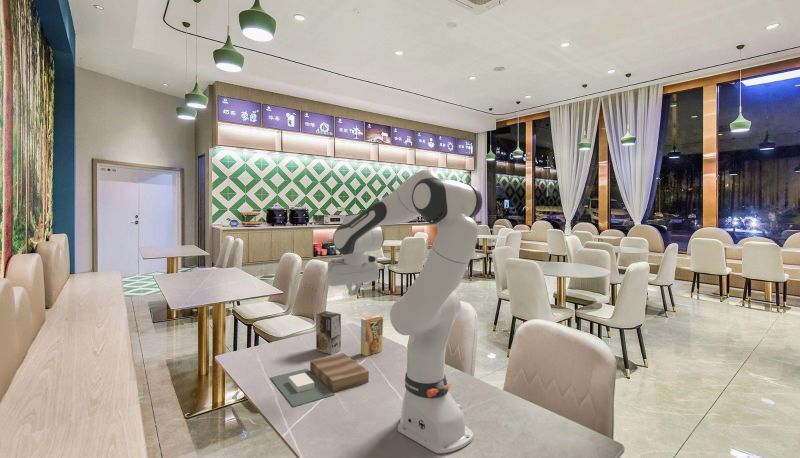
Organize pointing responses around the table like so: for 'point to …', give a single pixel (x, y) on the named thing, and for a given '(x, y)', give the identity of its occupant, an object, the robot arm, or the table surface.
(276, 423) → the table surface
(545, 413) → the table surface
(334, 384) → the block
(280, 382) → the mat
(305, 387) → the white box
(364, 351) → the candy box
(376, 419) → the table surface
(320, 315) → the coffee box
